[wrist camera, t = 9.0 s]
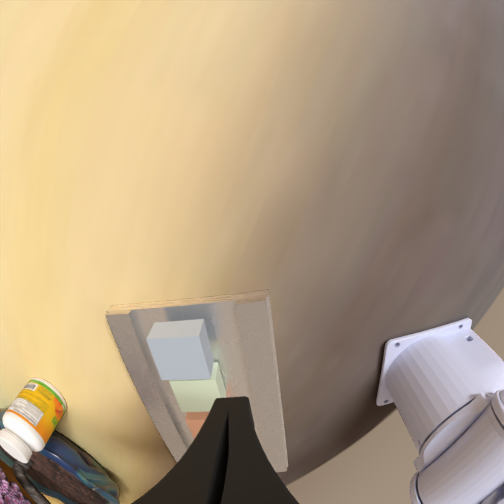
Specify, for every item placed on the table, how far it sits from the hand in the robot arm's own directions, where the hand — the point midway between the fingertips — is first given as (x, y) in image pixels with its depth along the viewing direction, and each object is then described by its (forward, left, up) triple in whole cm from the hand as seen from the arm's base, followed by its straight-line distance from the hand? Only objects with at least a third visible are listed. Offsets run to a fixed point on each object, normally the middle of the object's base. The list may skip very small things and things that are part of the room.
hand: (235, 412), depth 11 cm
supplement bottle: (+24, +10, -10) cm, 28 cm away
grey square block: (+4, +1, -8) cm, 9 cm away
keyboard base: (+4, +10, -10) cm, 15 cm away
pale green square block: (+4, +6, -9) cm, 11 cm away
